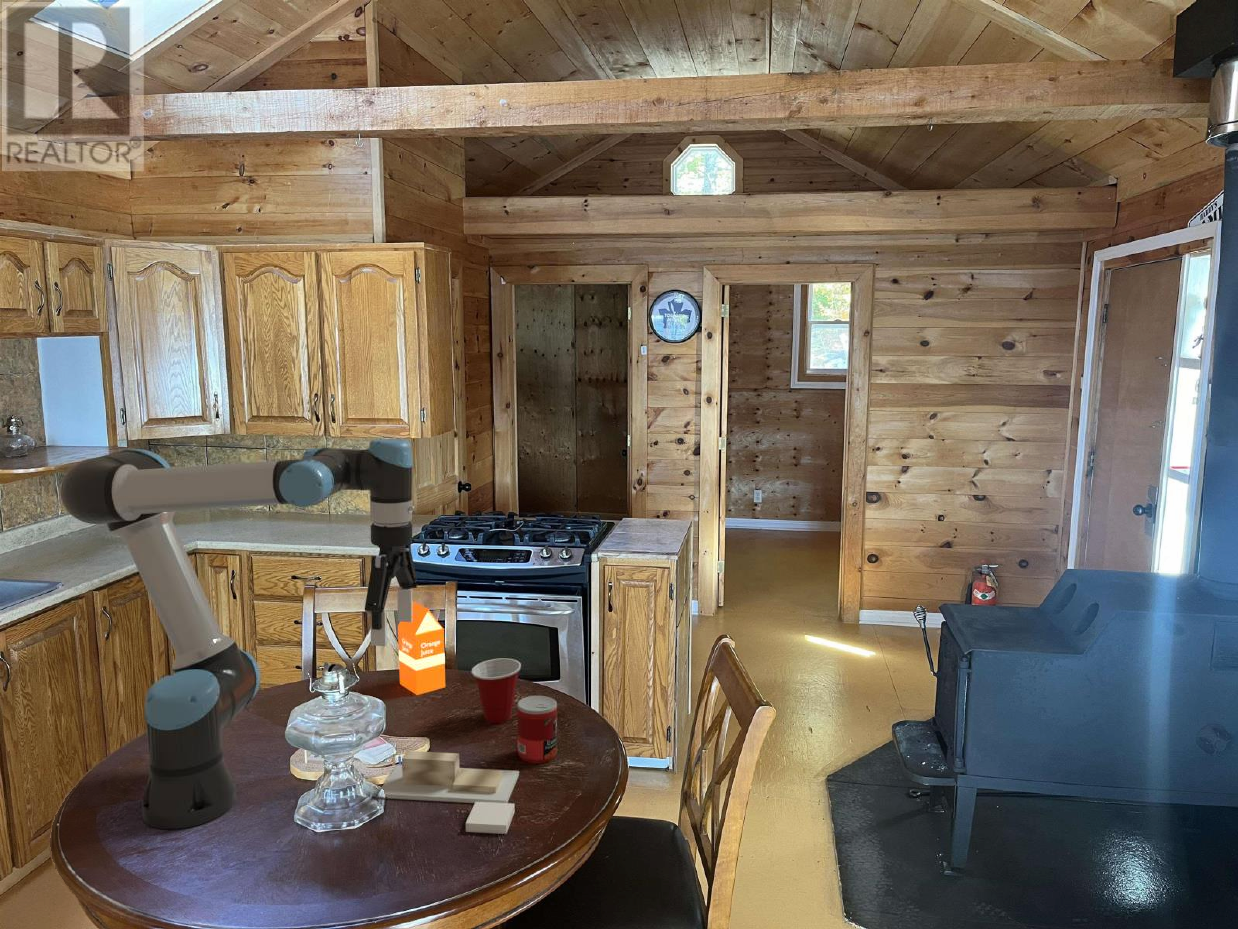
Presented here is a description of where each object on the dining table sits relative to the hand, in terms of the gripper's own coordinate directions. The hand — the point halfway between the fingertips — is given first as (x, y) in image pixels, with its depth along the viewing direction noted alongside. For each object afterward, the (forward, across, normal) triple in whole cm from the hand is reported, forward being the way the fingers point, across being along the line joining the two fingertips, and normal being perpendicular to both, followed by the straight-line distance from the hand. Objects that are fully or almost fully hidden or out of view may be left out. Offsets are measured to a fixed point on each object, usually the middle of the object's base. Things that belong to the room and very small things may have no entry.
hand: (392, 633), depth 168 cm
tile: (+27, -15, -20) cm, 36 cm away
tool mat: (+28, -4, -12) cm, 31 cm away
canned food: (+28, +10, -26) cm, 39 cm away
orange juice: (+28, +42, +9) cm, 51 cm away
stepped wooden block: (+27, -4, -13) cm, 30 cm away
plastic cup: (+28, +26, -14) cm, 41 cm away
